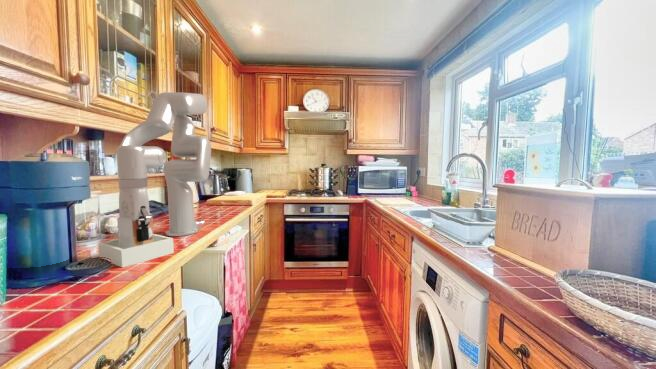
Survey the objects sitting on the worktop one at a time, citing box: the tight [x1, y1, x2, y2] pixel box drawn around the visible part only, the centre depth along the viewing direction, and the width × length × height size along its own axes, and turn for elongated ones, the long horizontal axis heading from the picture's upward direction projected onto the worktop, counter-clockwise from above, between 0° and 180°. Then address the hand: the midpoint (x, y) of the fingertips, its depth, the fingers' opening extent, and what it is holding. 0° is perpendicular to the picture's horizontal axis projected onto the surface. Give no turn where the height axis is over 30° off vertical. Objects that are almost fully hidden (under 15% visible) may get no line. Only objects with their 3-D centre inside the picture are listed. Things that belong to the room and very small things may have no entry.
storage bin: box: [97, 233, 175, 268], centre depth 90 cm, size 15×15×5 cm
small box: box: [117, 213, 155, 249], centre depth 89 cm, size 8×6×10 cm
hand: (137, 238), depth 90 cm, fingers closed on small box, 6 cm apart
